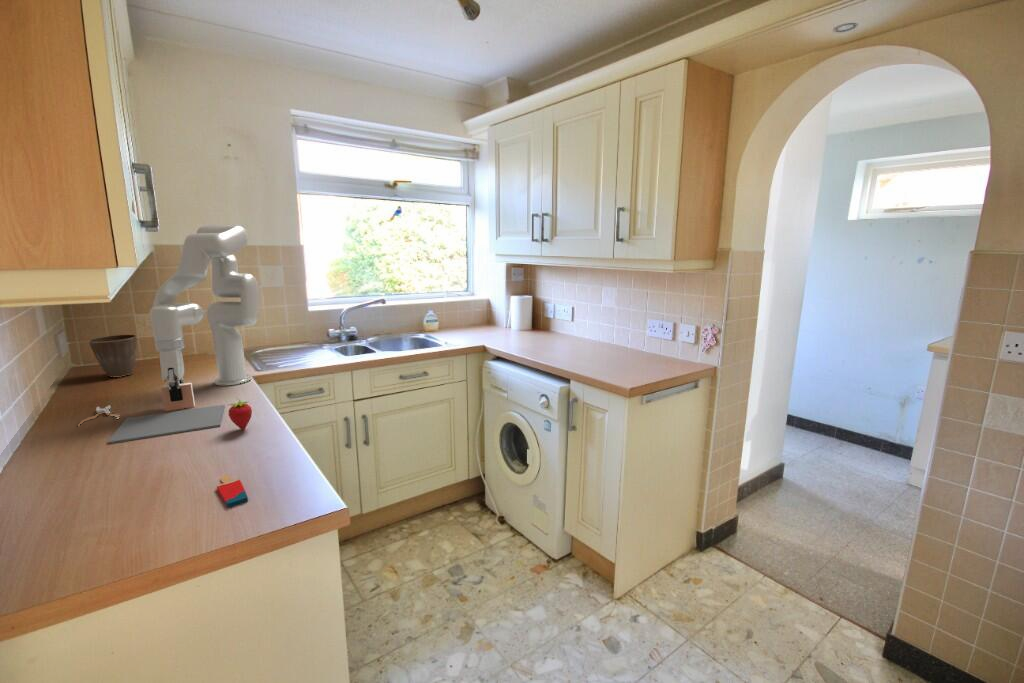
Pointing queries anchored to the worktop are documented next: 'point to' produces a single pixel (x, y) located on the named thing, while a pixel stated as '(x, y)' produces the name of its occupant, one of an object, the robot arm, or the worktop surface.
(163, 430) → the mat
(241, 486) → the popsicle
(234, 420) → the strawberry
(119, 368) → the plant pot
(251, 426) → the worktop surface
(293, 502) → the worktop surface
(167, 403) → the tile
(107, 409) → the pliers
